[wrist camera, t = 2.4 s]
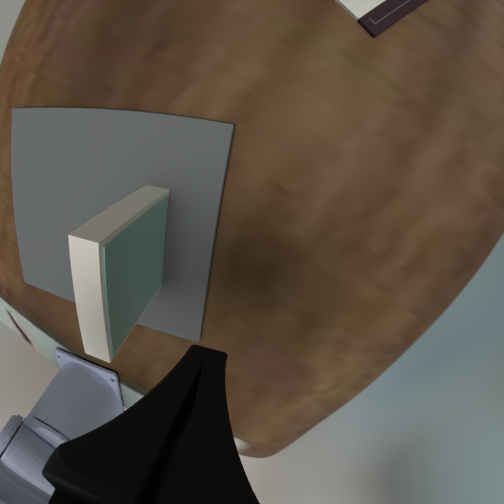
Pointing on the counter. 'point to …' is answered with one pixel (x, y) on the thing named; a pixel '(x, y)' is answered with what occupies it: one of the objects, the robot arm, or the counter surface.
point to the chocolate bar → (378, 12)
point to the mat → (119, 195)
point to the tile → (118, 268)
